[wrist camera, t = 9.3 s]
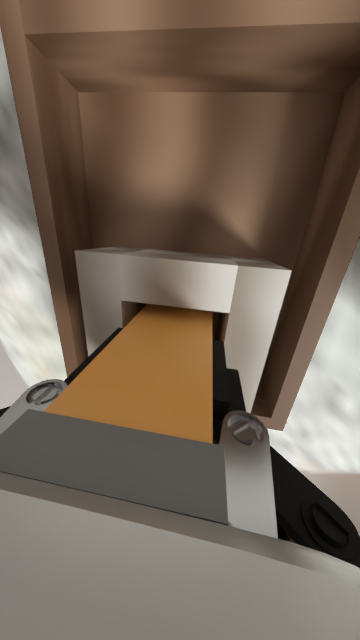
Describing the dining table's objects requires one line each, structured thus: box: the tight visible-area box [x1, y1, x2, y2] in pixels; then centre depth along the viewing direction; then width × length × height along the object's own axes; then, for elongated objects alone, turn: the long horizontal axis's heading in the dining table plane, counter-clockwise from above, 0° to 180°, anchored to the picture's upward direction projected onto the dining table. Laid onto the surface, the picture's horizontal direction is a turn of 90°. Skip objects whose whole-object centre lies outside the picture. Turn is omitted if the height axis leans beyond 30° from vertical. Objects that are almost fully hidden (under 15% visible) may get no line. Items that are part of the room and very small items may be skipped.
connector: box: [0, 304, 228, 526], centre depth 9 cm, size 4×4×10 cm
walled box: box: [0, 0, 360, 431], centre depth 12 cm, size 16×20×6 cm
